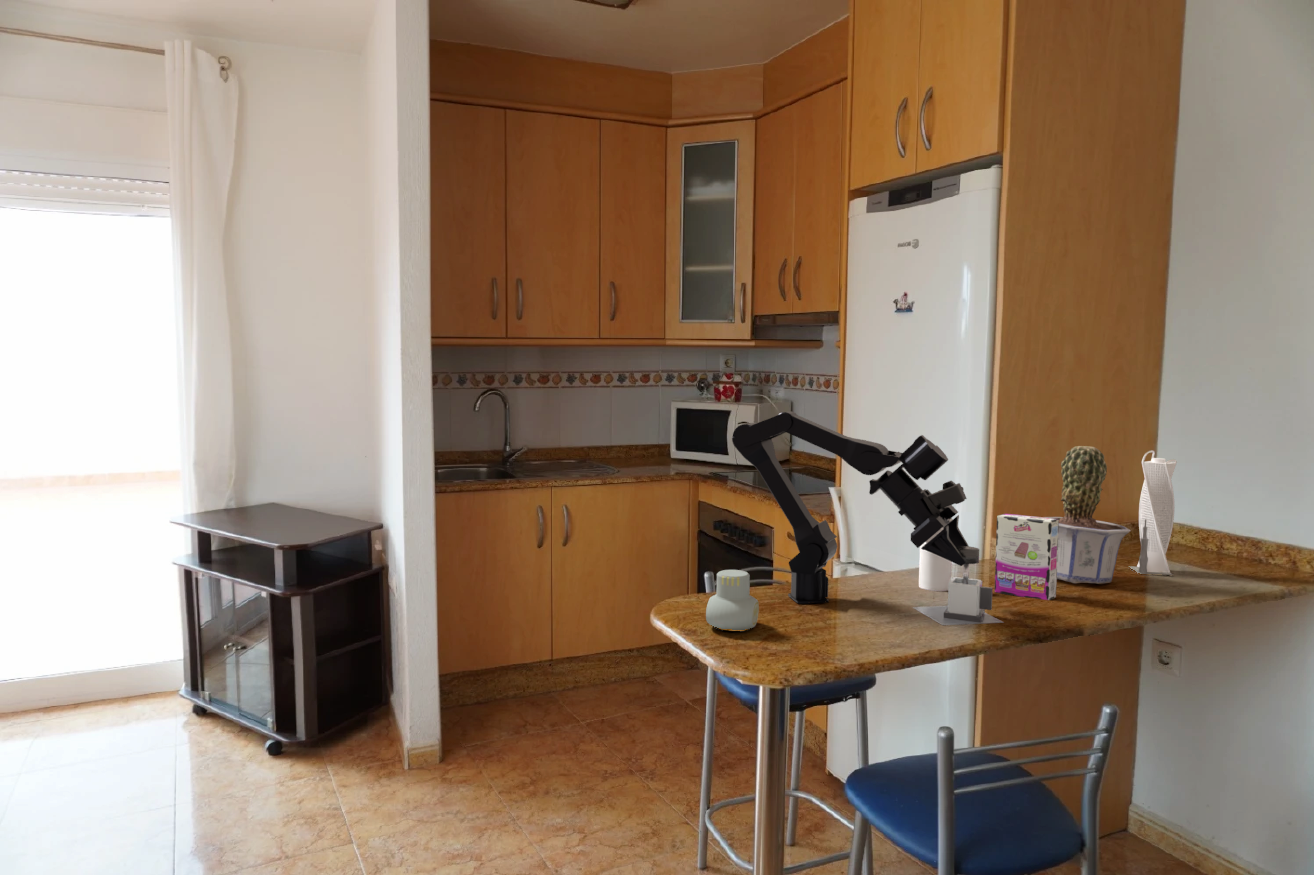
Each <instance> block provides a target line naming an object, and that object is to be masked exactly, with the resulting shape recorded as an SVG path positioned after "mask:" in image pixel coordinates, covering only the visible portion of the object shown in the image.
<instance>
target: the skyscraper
mask: <svg viewBox="0 0 1314 875" xmlns="http://www.w3.org/2000/svg"><path fill="white" fill-rule="evenodd" d="M1155 452H1156V451H1155V450H1152V449H1151V450H1148V451H1147V452H1145V453H1144V455H1143V457H1142V459H1141V466H1142V472H1143V476H1144V480H1143V484H1142V488H1141V492H1140V497H1139V504H1138V527H1139V528H1138V529H1139V530H1138V531H1139V540H1140V553H1139V554H1140V555H1139V557H1138V559H1139V560H1138V563H1137V565H1136V566H1135V565H1134V566H1132V565H1131V566H1128V567H1130V568H1131V569H1133V570H1135V571H1136V572H1137V574H1138V573H1140V574H1162V575H1173V576H1174V574H1173V573H1171V571H1170V567H1169V563H1168V561H1167V560H1168V559H1167V556H1166V555H1167V551H1168V547H1169V543H1170V540H1171V536H1172V533H1173V527H1174V521H1175V495H1174V486H1173V482H1172V477H1173V475H1174V472H1175V470H1176V466H1177V463H1178V462H1177V460H1176V459H1174V458H1173V459H1169V460H1167V459H1166V458H1164V457H1155ZM1149 453H1150V454H1151V453H1152V455H1151V459H1150V460H1147V461H1145V460H1146V457H1147V455H1148V454H1149ZM1166 460H1167V461H1166ZM1131 569H1130V570H1131ZM1133 570H1132V571H1133ZM1136 572H1135V573H1136Z"/></svg>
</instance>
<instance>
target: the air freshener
mask: <svg viewBox="0 0 1314 875" xmlns="http://www.w3.org/2000/svg"><path fill="white" fill-rule="evenodd" d="M750 579H751V576H750V573H748V572H747V571H746V570H745V571H744V570H742V569H741V570H740V569H739V570H738V569H724V570H720V571H718V572H717V573H716V591H715V592H716V593H715V594H713V595H712V596H710V597H709V599H708V602H707V605H706V609H705V620H706V622H707V624H709V626H711V625H712V626H711V627H713V626H714V628H715V627H717V628H721V629H732V630H745V629H749V630H750V628H751V629H752V628H755V627H756V625H757V622H758V618H759V610H760V606H759V604H760V603H759V601H758V599H756V598H755V597H754V596H752V595H751V594H750V588H751V587H750V586H751V585H750V581H751V580H750ZM717 628H716V629H717Z"/></svg>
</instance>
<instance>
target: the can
mask: <svg viewBox="0 0 1314 875" xmlns="http://www.w3.org/2000/svg"><path fill="white" fill-rule="evenodd" d="M925 544H926V542H925V543H923V544H922V545H921V546H920V547H919V564H918V565H919V566H918V587H919V588H920V589H923V590H926V591H927V590H928V591H932V592H946V591H948V588H949V581H950V580H951V578H952V570H953V569H952V565H953V562H951V561H949V560H947V559H945V558H942V557H940V556H938V555H936V554H933V553H931V552H929V551H926V550H922V549H921V548H922V547H923V546H924V545H925Z"/></svg>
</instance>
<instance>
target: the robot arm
mask: <svg viewBox="0 0 1314 875" xmlns="http://www.w3.org/2000/svg"><path fill="white" fill-rule="evenodd" d="M786 433H787V434H789V435H791V436H794V437H796V438H798V439H799V440H802V441H805V442H807V443H810V444H811V445H814V446H816V447H819V448H821V449H823V450H825V451H828V452H830V453H831V454H834V455H836V456H837V457H839V458H840V459H842V460H843V461H844V462H846V464H848V465H849V466H850V467H852V468H853V469H855V470H856V471H858V472H859V473H861V474H862V475H866V476H873V475H876V474H879V473H881V472H883V471H884V470H886V469H887V468H892V467H894V466H896V465H898V464H900V463H901V464H900V465H899V466H898V467H897V468H896V469H895V470H894V471H891V470H889V469H888V470H886V471H885V472H884V473H883V474H881V476H879V477H878V478H877V479H873V478H872V479H870V480H869V481H868V482H869V492H868V493H869V495H875V493H877V492H879V490H880V491H882V493H883V494H884V495H885V496H886V498H888V500H890V502H892V503H893V505H894V506H895V507H896V508H897V509H898V510H899V511H897V513H898V514H899V515H900V516H901V517H903V516H905V517H906V518H907V520H908V521H909V522H910V523H911V524H912V525H913V526H914V527H913V531H912V532H911V533H910V542H911V543H912V544H913V545H914V546H915V547H916V548H917V549H920V546H921V545H922V544H923V543H925V542H926V544H925V545H924V546H923V547H922V548H921V549H922V550H926V551H929V552H931V553H933V554H936V555H938V556H940V557H942V558H945V559H947V560H949V561H951V562H952V564H956V565H958V566H960V567H963V565H964V564H965V560H964V559H963V557H962V556H961V554H960V553H959V551H958V550H957V548H956V547H957V546H969V544H968V542H967V540H966V539H965V537H964V535H963V533H962V532H961V530H960V528H959V519H960V515H959V514H958V513H959V511H958V510H957V509H956V508H955V507H954V506H953V505H957V504H961V503H963V502H965V501H966V500H967V499H968V498H967V496H966V494H965V491H964V487H963V486H962V485H961V483H960V482H958V483H955V482H954V481H953V480H948V481H947V482H946V481H945V482H944V483H942V489H941V490H940V489H939V490H938V491H936V492H933V493H932V492H931V491H930V490H929V489H922V488H921V487H920V486H919V484H918V483H917V482H916V481H919V480H920V479H922V480H923V481H927V480H928V479H929V478H930V477H931V476H933V475H934V473H936V472H937V471H938V470H939V469H941V467H943V466H944V465H945V464H946V463H948V461H949V458H948V456H947V454H946V453H944V451H943V450H942V449H941V448H940V447H939V446H938V445H935V443H933V442H932V441H930V440H929V439H928V438H927V437H925V436H924V435H923V434H921V435H919V436H918V437H917V438H916V439H915V440H914V441H913V443H912V444H911V445H909V447H908V448H906V449H905V450H904V451H903V452H900V451H894V450H888V448H887V446H885V445H884V444H882V443H878V442H874V441H869V440H865V439H860V438H853V437H850V436H847V435H844V434H842V433H841V432H838V431H835V430H833V429H830V428H828V427H826V426H823V425H821V424H819V423H817V422H814V421H812V420H810V419H807V418H805V417H802V416H800V415H798V414H797V413H796V412H794V411H791V410H790V411H781V412H780V413H778V414H777V415H775V416H772V417H770V418H767V419H764V420H762V421H760V422H750V423H749V422H748V423H743V424H740V425H738V426H737V427H736V428H735V429H734V430H733V432H732V437H731V442H732V445H733V447H735V449H736V450H737V451H738V452H739V453H740V455H741V456H742V457H743V458H744V459H745V460H746V461H747V462H749V464H751V465H752V466H753V467H755V468H756V470H757V471H758V472H759V475H760V476H761V478H762V479H763V481H764V483H765V485H766V486H767V488H768V490H769V491H770V493H771V495H772V496H773V497H774V499H775V502H777V505H778V506H779V507H780V509H781V511H782V512H783V514H784V516H785V518H786V519H787V521H788V522H789V524H790V526H791V527H792V529H793V535H794V540H795V544H796V547H797V549H798V551H799V552H798V553H797V554H796V555H795V556H794V557H793V558H791V560H789V561H788V565H789V569H790V573H791V574H790V575H791V577H790V579H791V581H790V584H791V585H790V587H791V588H790V593H788V595H787V596H788V597H789V598H790V599H792V600H793V601H794V602H795V603H797V604H798V605H799V604H803V605H804V604H821V603H822V604H823V603H826V604H827V603H829V602H830V601H829V599H828V596H829V577H828V576H827V570H826V569H824V568H825V567H826V566H827V564H828V562H829V561H830V560H831V559H832V558H834V556H835V555H836V553H837V549H838V544H837V541H836V538H838V536H837V535H836V534H834V532H833V531H832V529H831V527H830V525H829V523H828V521H827V520H822V521H821V522H819V521H818V520H817V519H815V517H813V516H812V514H811V513H810V511H809V509H808V508H807V506H806V504H805V502H804V501H803V500H802V498H801V496H800V495H799V493H798V491H797V490H796V487H795V486H794V484H793V483H792V482H791V480H790V478H789V476H788V475H787V473H786V471H785V470H784V468H783V467H782V465H781V464H780V462H779V460H778V458H777V456H776V452H775V445H774V442H773V439H775V438H777V437H779V436H781V435H783V434H786ZM904 469H905V470H904ZM915 480H916V481H915ZM957 514H958V515H957ZM953 517H954V518H953ZM969 547H970V546H969Z"/></svg>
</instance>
